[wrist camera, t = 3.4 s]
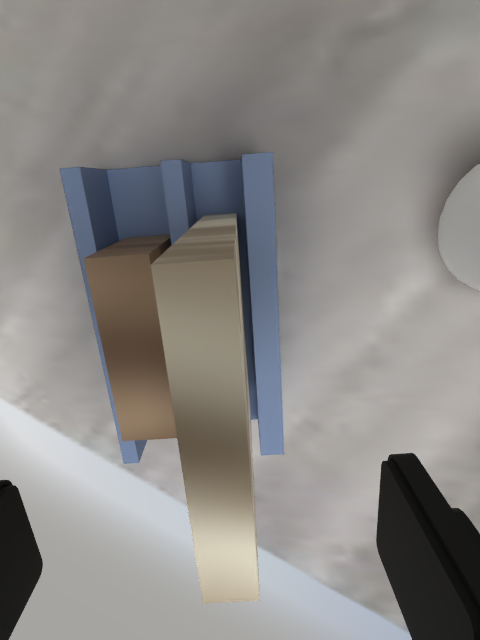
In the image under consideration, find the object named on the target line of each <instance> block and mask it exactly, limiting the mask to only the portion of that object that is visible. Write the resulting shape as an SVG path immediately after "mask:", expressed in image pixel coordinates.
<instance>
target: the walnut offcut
mask: <svg viewBox="0 0 480 640" xmlns="http://www.w3.org/2000/svg"><path fill="white" fill-rule="evenodd" d="M170 246H172V245H171V237H170V234H169V235H155V236H141V237H128V238H125V239H123V240H121V241H118V242H116V243H114V244H112V245H110V246H108V247H106V248H104V249H102V250H100V251H98V252H96V253H94V254H92V255H89V256H87V257H85V258H83V259H84V264H85V269H86V273H87V278H88V283H89V287H90V292H91V297H92V301H93V306H94V311H95V315H96V320H97V325H98V329H99V334H100V339H101V343H102V348H103V353H104V357H105V362H106V367H107V371H108V376H109V381H110V385H111V390H112V395H113V399H114V404H115V409H116V413H117V418H118V423H119V427H120V432H121V437H122V441H134V440H150V439H167V438H177V433H176V426H175V419H174V413H173V406H172V400H171V393H170V387H169V380H168V374H167V367H166V361H165V354H164V348H163V341H162V335H161V328H160V322H159V315H158V309H157V302H156V296H155V289H154V283H153V276H152V270H151V264H152V263H153V262H154V261H155V260H156V259H157V258H159V257H160V256H161V255H162V254H163V253H164V252H165V251H166V250H167V249H168V248H169V247H170Z"/></svg>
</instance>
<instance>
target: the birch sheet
mask: <svg viewBox="0 0 480 640" xmlns="http://www.w3.org/2000/svg"><path fill="white" fill-rule="evenodd" d="M151 270H152V276H153V283H154V289H155V296H156V302H157V309H158V315H159V322H160V328H161V335H162V341H163V348H164V354H165V361H166V367H167V374H168V380H169V387H170V393H171V400H172V406H173V413H174V419H175V426H176V433H177V439H178V446H179V452H180V459H181V465H182V472H183V478H184V485H185V491H186V498H187V504H188V510H189V517H190V524H191V530H192V537H193V543H194V550H195V556H196V563H197V569H198V575H199V582H200V589H201V595H202V601H203V603H222V602H241V601H259V600H260V594H259V574H258V555H257V535H256V515H255V496H254V476H253V456H252V437H251V417H250V397H249V380H248V366H247V352H246V338H245V324H244V310H243V296H242V282H241V268H240V254H239V240H238V226H237V213H228V214H215V215H204V216H203V217H202V218H201V219H200V220H199V221H197V222H196V223H195V224H194V225H193V226H192V227H191V228H190V229H189V230H188V231H187V232H186V233H185V234H183V235H182V236H181V237H180V238H179V239H178V240H177V241H176V242H175V243H174V244H173V245H172V246H170V247H169V248H168V249H167V250H166V251H165V252H164V253H163V254H162V255H161V256H160V257H159V258H157V259H156V260H155V261H154V262H153V263H152V264H151Z"/></svg>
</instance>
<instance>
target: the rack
mask: <svg viewBox="0 0 480 640" xmlns="http://www.w3.org/2000/svg"><path fill="white" fill-rule="evenodd" d="M160 162H161V166H149V167H136V168H123V169H110V170H104V169H94V168H84V167H73V168H60V173H61V177H62V182H63V187H64V191H65V196H66V200H67V205H68V210H69V214H70V219H71V223H72V228H73V233H74V237H75V242H76V246H77V251H78V255H79V260H80V265H81V269H82V274H83V278H84V283H85V288H86V292H87V297H88V301H89V306H90V311H91V315H92V320H93V324H94V329H95V333H96V338H97V343H98V347H99V352H100V356H101V361H102V366H103V370H104V375H105V379H106V384H107V389H108V393H109V398H110V402H111V407H112V411H113V416H114V421H115V425H116V430H117V434H118V439H119V444H120V448H121V453H122V457H123V462H124V464H126V463H139V461H140V459H141V456H142V453H143V450H144V447H145V445H146V442H147V440H134V441H122V437H121V432H120V427H119V423H118V418H117V413H116V409H115V404H114V399H113V395H112V390H111V385H110V381H109V376H108V371H107V367H106V362H105V357H104V353H103V348H102V343H101V339H100V334H99V329H98V325H97V320H96V315H95V311H94V306H93V301H92V297H91V292H90V287H89V283H88V278H87V273H86V269H85V264H84V259H83V258H85V257H87V256H89V255H92V254H94V253H96V252H98V251H100V250H102V249H104V248H106V247H108V246H110V245H112V244H114V243H116V242H118V241H121V240H123V239H125V238H128V237H141V236H155V235H169V234H170V237H171V245H173V244H174V243H175V242H176V241H177V240H178V239H179V238H180V237H181V236H182V235H183V234H185V233H186V232H187V231H188V230H189V229H190V228H191V227H192V226H193V225H194V224H195V223H196V222H197V221H199V220H200V219H201V218H202V217H203V216H204V215H215V214H228V213H237V226H238V240H239V254H240V268H241V282H242V296H243V310H244V324H245V338H246V352H247V366H248V380H249V397H250V417H251V420H253V419H258V425H259V437H260V450H261V455H276V454H284V440H283V413H282V387H281V361H280V334H279V308H278V281H277V255H276V228H275V202H274V176H273V152H268V153H255V154H242V158H241V159H240V160H227V161H214V162H201V163H189V162H186V161H184V160H181V159H177V160H164V161H160Z"/></svg>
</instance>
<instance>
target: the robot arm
mask: <svg viewBox="0 0 480 640" xmlns="http://www.w3.org/2000/svg"><path fill="white" fill-rule="evenodd" d="M376 541H377V548H378V552H379V555H380V558H381V561H382V563H383V566H384V568H385V571H386V573H387V576H388V579H389V581H390V584H391V586H392V589H393V591H394V594H395V596H396V599H397V602H398V604H399V607H400V609H401V612H402V614H403V617H404V620H405V622H406V625H407V627H408V630H409V632H410V635H411V637H412V640H480V534H479V532H478V531H477V529H476V528H475V527H474V525H473V524H472V522H471V521H470V519H469V518H468V517H467V516H466V514H465V513H464V512H463V511H462V510H460V509H459V508H451V507H450V505H449V504H448V503H447V501H446V500H445V498H444V497H443V495H442V494H441V492H440V491H439V489H438V488H437V486H436V485H435V483H434V482H433V480H432V479H431V477H430V476H429V474H428V473H427V471H426V470H425V468H424V467H423V465H422V464H421V462H420V461H419V459H418V458H417V457H416V455H415V454H413V453H406V454H391V455H389V457H388V461H383V462H382V465H381V479H380V494H379V508H378V523H377V538H376ZM42 564H43V563H42V558H41V555H40V552H39V549H38V546H37V543H36V540H35V537H34V534H33V532H32V528H31V525H30V522H29V520H28V517H27V514H26V511H25V508H24V505H23V502H22V499H21V496H20V493H19V490H18V488H17V487H16V486H13V485H12V483H11V482H10V481H9V480H0V640H9V637H10V636H11V634H12V632H13V629H14V628H15V626H16V623H17V622H18V620H19V618H20V616H21V614H22V612H23V610H24V608H25V606H26V604H27V602H28V600H29V598H30V596H31V594H32V592H33V590H34V588H35V586H36V584H37V582H38V580H39V578H40V575H41V572H42V566H43V565H42Z"/></svg>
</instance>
